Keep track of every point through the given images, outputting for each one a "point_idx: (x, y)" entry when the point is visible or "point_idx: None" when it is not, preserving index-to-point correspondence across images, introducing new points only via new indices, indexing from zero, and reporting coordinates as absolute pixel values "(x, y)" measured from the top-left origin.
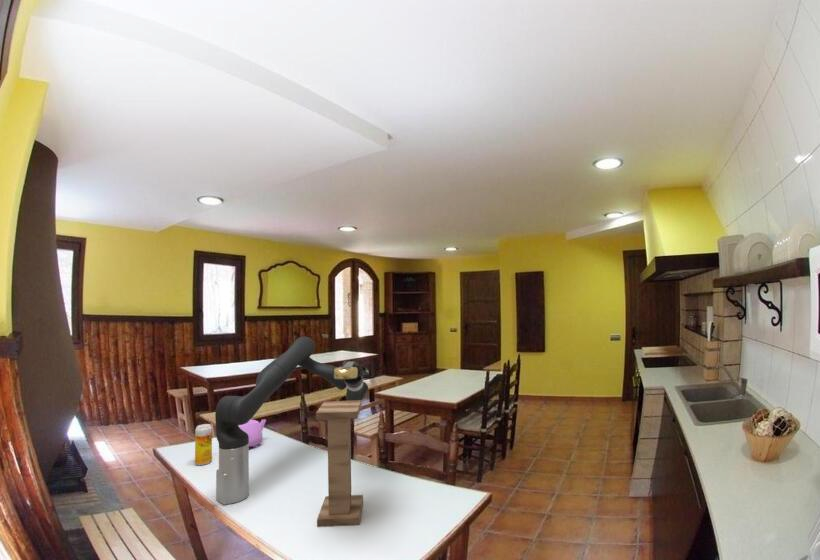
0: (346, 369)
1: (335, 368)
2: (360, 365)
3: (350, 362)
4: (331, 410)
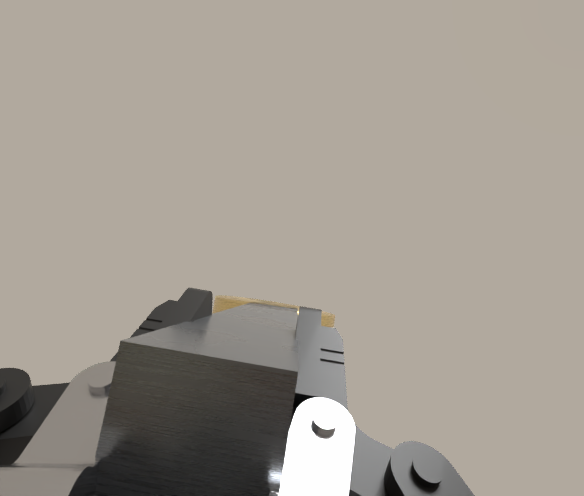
0: (270, 302)
1: (331, 315)
2: (29, 384)
3: (234, 334)
4: None
